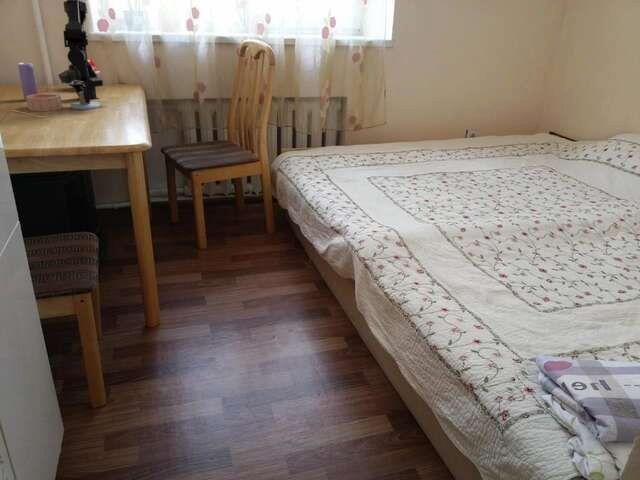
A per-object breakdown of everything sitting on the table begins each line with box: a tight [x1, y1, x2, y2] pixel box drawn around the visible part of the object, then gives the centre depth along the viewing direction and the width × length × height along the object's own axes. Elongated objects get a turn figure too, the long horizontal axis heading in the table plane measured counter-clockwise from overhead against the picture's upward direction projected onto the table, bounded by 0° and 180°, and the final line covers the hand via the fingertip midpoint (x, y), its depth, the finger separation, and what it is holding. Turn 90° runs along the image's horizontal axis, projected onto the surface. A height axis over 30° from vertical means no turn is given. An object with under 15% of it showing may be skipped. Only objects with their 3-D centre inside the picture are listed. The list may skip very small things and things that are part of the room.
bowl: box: [26, 93, 63, 112], centre depth 210 cm, size 12×12×5 cm
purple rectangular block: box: [17, 62, 40, 102], centre depth 224 cm, size 6×6×15 cm
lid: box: [69, 91, 101, 111], centre depth 213 cm, size 11×11×6 cm
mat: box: [65, 105, 106, 112], centre depth 214 cm, size 12×10×1 cm
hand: (85, 102), depth 214 cm, fingers closed on lid, 3 cm apart
